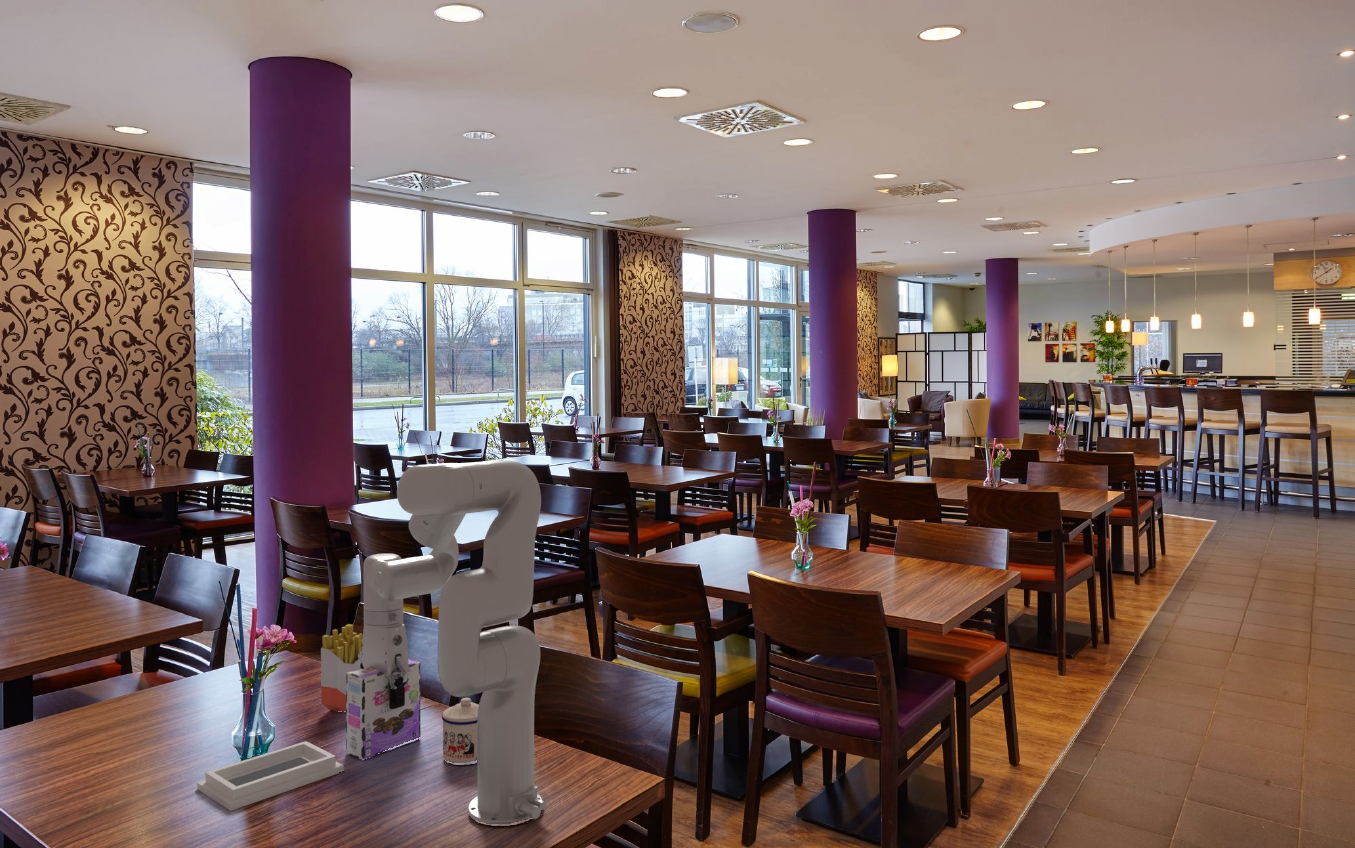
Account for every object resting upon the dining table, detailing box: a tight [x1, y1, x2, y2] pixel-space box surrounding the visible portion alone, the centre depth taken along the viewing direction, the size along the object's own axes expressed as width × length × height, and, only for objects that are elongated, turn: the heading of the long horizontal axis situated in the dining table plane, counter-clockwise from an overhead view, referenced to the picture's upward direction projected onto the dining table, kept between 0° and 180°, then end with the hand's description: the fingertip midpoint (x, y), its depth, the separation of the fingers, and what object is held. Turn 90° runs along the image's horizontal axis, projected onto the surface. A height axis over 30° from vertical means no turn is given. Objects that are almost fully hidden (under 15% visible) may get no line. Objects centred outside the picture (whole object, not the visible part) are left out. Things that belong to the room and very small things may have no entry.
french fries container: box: [320, 623, 363, 713], centre depth 204 cm, size 5×11×18 cm, turn 160°
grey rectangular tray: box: [196, 740, 345, 812], centre depth 167 cm, size 13×21×3 cm, turn 140°
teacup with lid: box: [441, 697, 479, 763], centre depth 177 cm, size 12×9×12 cm
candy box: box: [345, 658, 422, 760], centre depth 182 cm, size 14×6×16 cm, turn 143°
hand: (383, 701), depth 182 cm, fingers open, 8 cm apart
